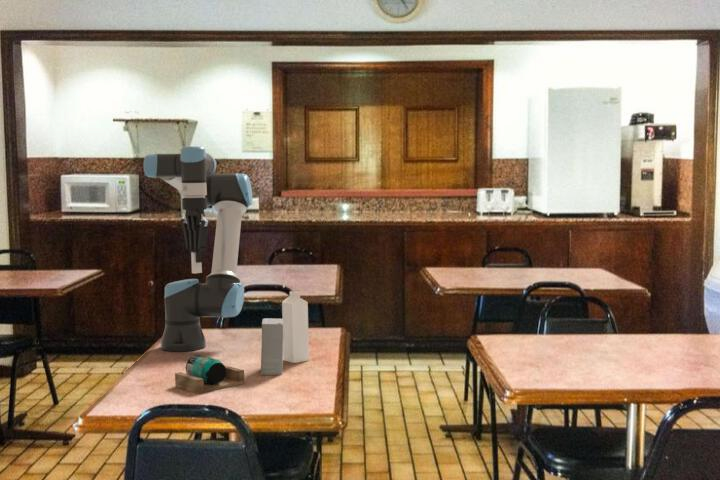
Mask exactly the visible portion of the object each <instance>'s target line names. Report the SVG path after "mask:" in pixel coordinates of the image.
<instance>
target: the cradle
mask: <svg viewBox="0 0 720 480" xmlns="http://www.w3.org/2000/svg"><path fill="white" fill-rule="evenodd" d="M223 365H224V366H225V368H226V376H225V378H224V379H223V380H222V381H221V382H220V383H217V384H208V383H205V382H204V381H203V379H202V378H198V377H195V376H191V375H188V374H187V373H184V372H176V373H174V379H175V380H174V381H175V385H174V386H175V388H179V389H181V390H185V391H188V392H192V393H194V394H205V393H207V392H212V391H217V390H222V389H225V388H230V387H234V386H241V385H243V384H245V382H246V381H245V369H239V368H237V367H232V366H229V365H226V364H223Z"/></svg>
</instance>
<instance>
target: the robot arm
mask: <svg viewBox="0 0 720 480" xmlns="http://www.w3.org/2000/svg"><path fill="white" fill-rule="evenodd" d="M216 169H217V160H216V159H215V158H214V156H213V155H211V154H209V153H206V149H205V147H204V146H182V147H181V149H180V153H153V154H147V155H145V156H144V158H143V172H144V174H145V176H146V177H148V178H150V179H151V178H153V179H157V178H158V179H161V180H162V181H164V182H166V183H168V184H169V185H170V186H171V187H173V188H175V189H176V190H177V191H178V193H179V195H180V196H181V197H182V198H181V206H182V207H181V209H182V210H183V211H185V214H184V215H185V216H184V218H180V223H181V226H182V231H183V237H184V242H185V249H186V250H188V251H189V252H190V261H191V262H190V263H191V274H200V273H201V274H203V269H202V267H203V265H202V264H203V263H202V262H203V255H202V254H203V252H204V251H206V250H207V246H208V235H209V234H208V233H209V227H210V225H211V220H210V219H207V218H206V214H205V210H206V209H208V206H209V207H210V206H211V207H214V208H213V209H214V210H215V211H216V212H217V217H216V226H215V227H216V228H215V235H214V236H215V237H214V245H213V255H212V263H211V264H212V265H211V273H210V274H208V275H207V276H206V280H205V283H204V282H201V283H200V281H199V279H198V278H189V279H182V280H177V281H173V282H169V283H167V284H166V285H165V287H164V296H163V298H164V316H165V317H164V318H165V319H164V320H165V325H164V326H165V327H164V331H163V334H162V338H161V341H160V348H161V350H163V351H167V352H191V351H196V350H201V349H203V348H206V346H207V345H206V342H207V341H206V337H205V334H204V332H203V329H202V327H201V320H200V318H223V319H227V318H235V317H236V316H238V315H240V313H241V311H242V308H243V305H244V302H245V301H244V300H245V286H244V284H243V283H241V280H240V277H238V275H237V269H238V258H239V248H240V239H241V238H240V237H241V227H242V216H243V214H245V213H246V212H247V210H248V209H247V208H248V206H249V207H250V206H252V205H253V189H252V185H251V184H252V183H251V180H250V178H249V176H248V175H247V174H246V173H237V172H235V173H215V172H216Z"/></svg>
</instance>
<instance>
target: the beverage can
mask: <svg viewBox="0 0 720 480" xmlns="http://www.w3.org/2000/svg"><path fill="white" fill-rule="evenodd" d="M185 364H186V365H185V374H188V375H191V376H195V377H198V378H202V379H203V381H204V382H205V383H208V384H217V383H220V382H221V381H222V380H223V379H224V378H225V376H226V368H225V366H224V365H225V364H224V363H223V362H222V361H221V360H220V359H219V360H218V359H216V358H212V357H208V356H204V355H201V354H194V355H192V356H190V357H189V359H188V360H187V361H186V363H185Z"/></svg>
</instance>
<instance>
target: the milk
mask: <svg viewBox="0 0 720 480" xmlns="http://www.w3.org/2000/svg"><path fill="white" fill-rule="evenodd" d="M281 302H282V303H281V315H282V318H281V319H283V361H285V362H288V363H291V364H297V363H302V362H303V363H304V362H308V361H309V360H310V350H309V349H310V348H309V346H310V345H309V343H310V341H309V307H308V306H309V305H308V304H309V303H308V301H306V300H305V299H303V298H302V297H301V293H300V292H296V291H291V290H290V291H289V295H288V297H286V298H285V299H284V300H282V301H281Z"/></svg>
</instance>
